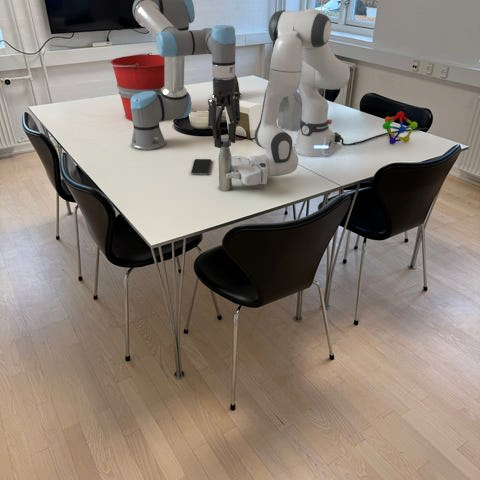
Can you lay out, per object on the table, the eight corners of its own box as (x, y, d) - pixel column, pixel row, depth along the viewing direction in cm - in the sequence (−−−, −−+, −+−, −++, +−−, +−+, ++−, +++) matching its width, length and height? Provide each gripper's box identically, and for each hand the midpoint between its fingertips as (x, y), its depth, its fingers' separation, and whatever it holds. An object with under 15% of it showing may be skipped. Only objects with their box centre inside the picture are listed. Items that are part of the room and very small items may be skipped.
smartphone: (190, 173, 177) (194, 158, 190) (190, 174, 178) (194, 160, 190) (208, 173, 177) (211, 159, 190) (209, 174, 178) (211, 160, 190)
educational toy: (377, 146, 209) (379, 114, 202) (384, 138, 219) (386, 107, 211) (411, 149, 202) (415, 116, 195) (417, 141, 212) (420, 109, 204)
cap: (217, 143, 160) (217, 138, 158) (229, 142, 161) (228, 136, 160) (220, 147, 156) (220, 141, 155) (232, 146, 157) (232, 140, 156)
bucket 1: (124, 106, 262) (117, 51, 246) (183, 106, 262) (180, 52, 246) (108, 124, 233) (99, 63, 217) (174, 124, 232) (170, 64, 216)
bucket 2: (296, 138, 215) (301, 78, 201) (255, 124, 234) (256, 68, 219) (335, 125, 232) (342, 70, 217) (294, 113, 251) (297, 61, 236)
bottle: (218, 185, 169) (217, 139, 159) (231, 185, 170) (231, 138, 160) (219, 191, 165) (218, 143, 155) (232, 190, 166) (232, 143, 156)
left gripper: (211, 84, 138) (213, 154, 150) (251, 74, 150) (250, 140, 162) (194, 80, 142) (197, 149, 154) (235, 71, 154) (235, 135, 167)
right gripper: (247, 150, 174) (213, 154, 170) (268, 169, 158) (232, 175, 154) (246, 165, 178) (214, 170, 173) (268, 185, 162) (232, 191, 157)
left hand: (224, 144), depth 158 cm, fingers open, 6 cm apart
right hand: (223, 172), depth 164 cm, fingers closed on bottle, 5 cm apart
